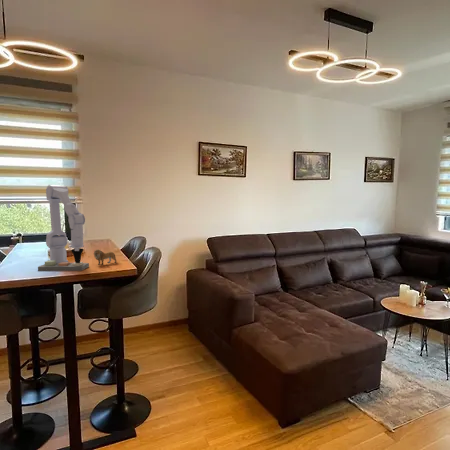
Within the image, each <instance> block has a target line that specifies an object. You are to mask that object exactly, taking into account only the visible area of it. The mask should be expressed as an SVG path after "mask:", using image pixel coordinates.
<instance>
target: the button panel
mask: <svg viewBox="0 0 450 450" xmlns="http://www.w3.org/2000/svg"><path fill="white" fill-rule="evenodd" d="M72 263H73V262H70V265H68V266H59V263H56V265H54V266H45V263H43V264H42V265H39V266H38V267H37V271H40V272H42V271H45V272H46V271H49V272H50V271H55V272H58V271H60V272H61V271H62V272H63V271H64V272H65V271H66V272H67V271H69V272H70V271H74V272H75V271H84V270H86V269H87V268H89V267H90V264H89V262H83V265H81V266H72Z"/></svg>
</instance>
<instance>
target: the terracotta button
mask: <svg viewBox="0 0 450 450" xmlns="http://www.w3.org/2000/svg"><path fill="white" fill-rule="evenodd" d="M70 263H71V262H70V261H68V262H61V263H59V266H68V265H70Z"/></svg>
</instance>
